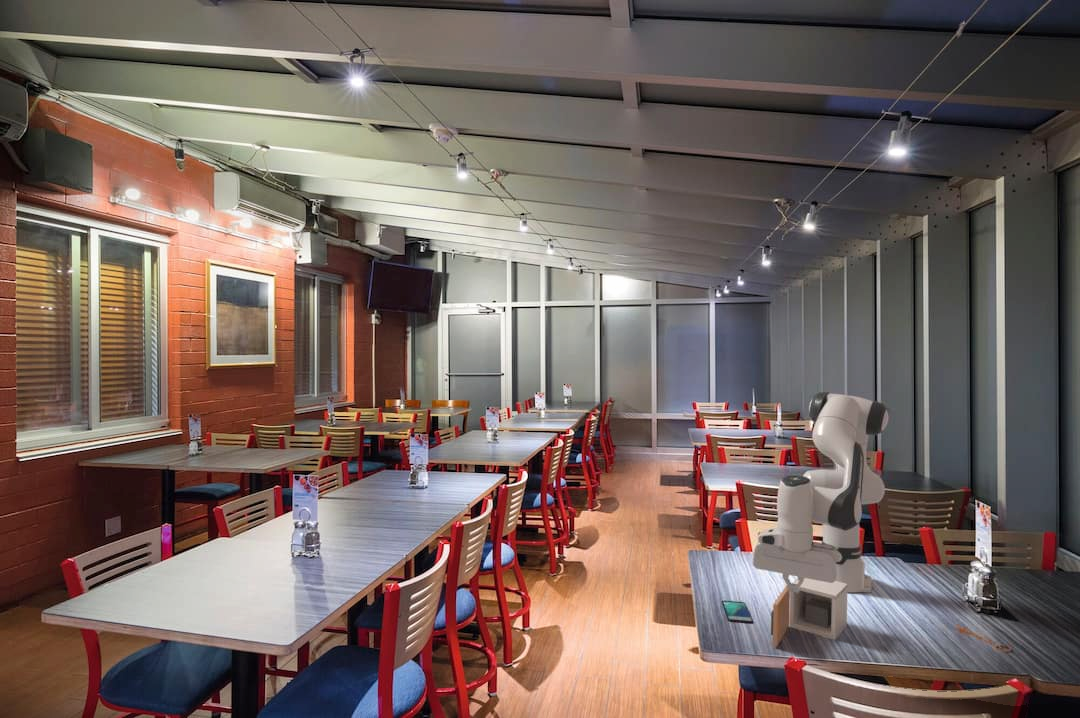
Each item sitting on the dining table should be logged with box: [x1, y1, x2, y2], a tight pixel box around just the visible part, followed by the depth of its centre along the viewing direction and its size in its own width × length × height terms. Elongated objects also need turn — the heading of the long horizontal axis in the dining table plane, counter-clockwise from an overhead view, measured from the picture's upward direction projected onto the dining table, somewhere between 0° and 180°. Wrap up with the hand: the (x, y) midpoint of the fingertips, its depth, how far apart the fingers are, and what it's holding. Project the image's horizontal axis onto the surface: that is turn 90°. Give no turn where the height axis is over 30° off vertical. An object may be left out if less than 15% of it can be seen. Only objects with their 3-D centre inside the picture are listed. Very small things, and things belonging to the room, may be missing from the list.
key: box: [953, 625, 1012, 653], centre depth 163 cm, size 6×1×15 cm
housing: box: [789, 577, 848, 641], centre depth 170 cm, size 12×12×12 cm
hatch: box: [770, 585, 790, 647], centre depth 163 cm, size 2×16×11 cm, turn 147°
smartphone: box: [721, 600, 754, 625], centre depth 178 cm, size 7×1×15 cm
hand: (793, 591), depth 155 cm, fingers closed
